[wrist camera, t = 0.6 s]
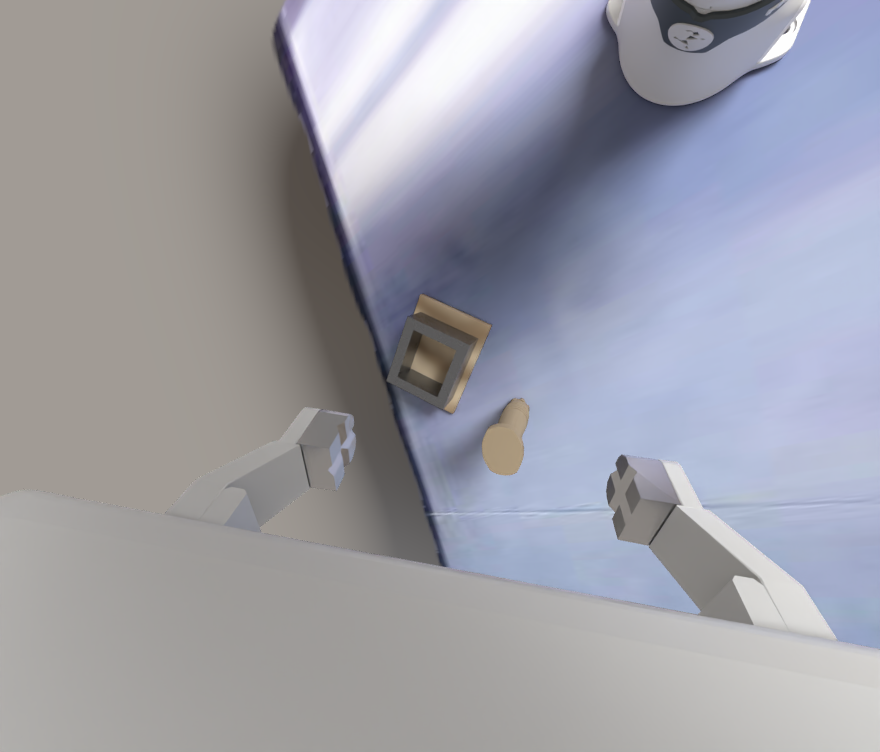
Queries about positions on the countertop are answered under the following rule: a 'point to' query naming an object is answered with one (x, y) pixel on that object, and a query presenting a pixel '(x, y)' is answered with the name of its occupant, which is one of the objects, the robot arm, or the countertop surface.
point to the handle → (506, 439)
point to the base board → (438, 356)
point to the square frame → (408, 347)
